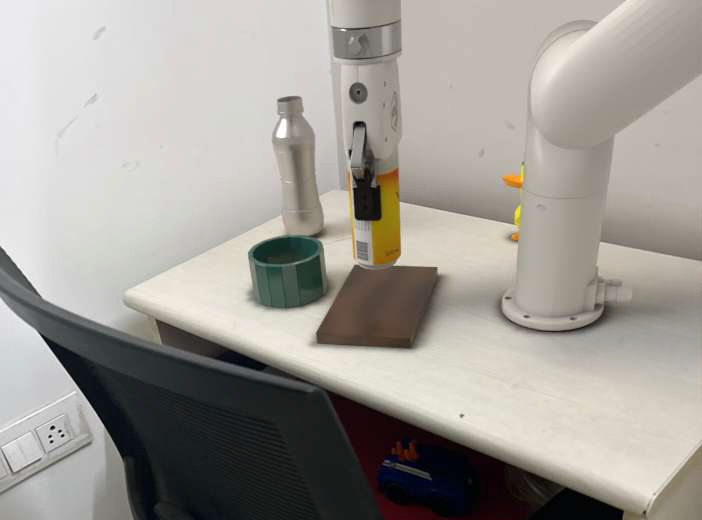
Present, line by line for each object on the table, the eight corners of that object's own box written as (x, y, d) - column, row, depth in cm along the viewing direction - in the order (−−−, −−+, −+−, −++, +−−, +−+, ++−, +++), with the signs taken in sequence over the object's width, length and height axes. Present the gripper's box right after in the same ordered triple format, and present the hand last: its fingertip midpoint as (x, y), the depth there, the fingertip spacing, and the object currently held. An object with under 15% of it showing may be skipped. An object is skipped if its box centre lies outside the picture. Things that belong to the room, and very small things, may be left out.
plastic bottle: (321, 241, 122) (307, 104, 109) (280, 242, 123) (261, 106, 110) (329, 225, 127) (316, 92, 114) (289, 226, 128) (272, 94, 115)
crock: (335, 275, 112) (331, 235, 108) (315, 309, 105) (310, 267, 101) (268, 273, 115) (262, 234, 111) (244, 306, 107) (236, 265, 103)
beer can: (409, 255, 99) (406, 131, 90) (386, 274, 96) (381, 147, 86) (368, 248, 102) (361, 127, 92) (345, 267, 98) (335, 143, 89)
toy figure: (493, 237, 117) (497, 154, 109) (507, 229, 119) (512, 147, 111) (532, 246, 113) (539, 162, 105) (545, 238, 115) (553, 154, 107)
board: (437, 276, 109) (437, 266, 108) (410, 348, 94) (410, 337, 93) (355, 274, 112) (354, 264, 111) (316, 343, 98) (315, 332, 97)
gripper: (383, 59, 76) (390, 238, 87) (416, 23, 88) (418, 184, 100) (310, 62, 78) (326, 236, 89) (352, 26, 90) (362, 183, 102)
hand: (374, 207), depth 94 cm, fingers closed on beer can, 6 cm apart
